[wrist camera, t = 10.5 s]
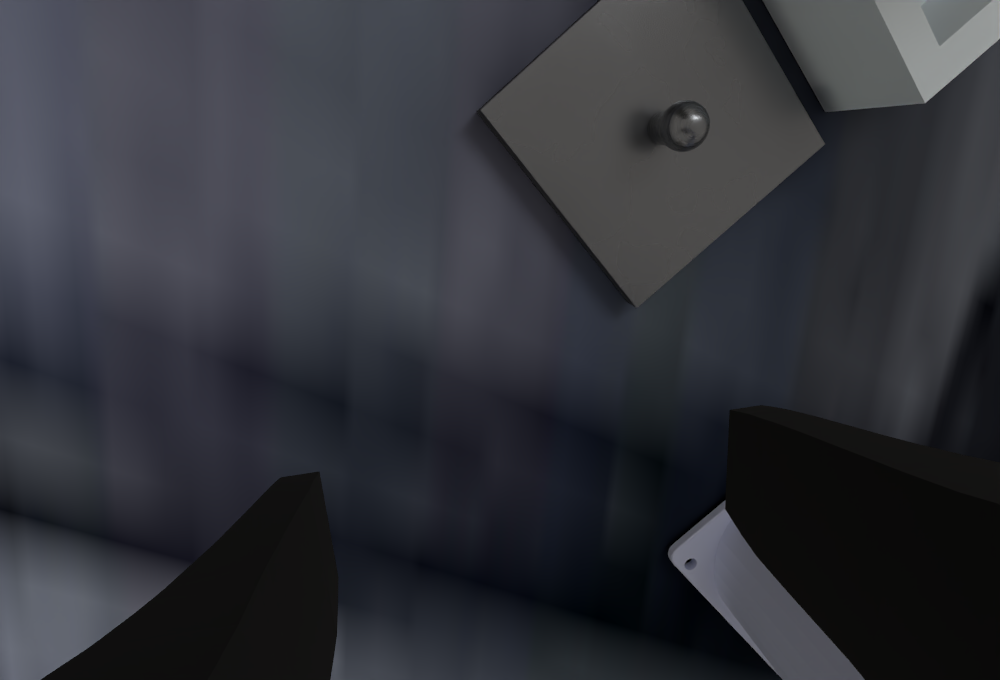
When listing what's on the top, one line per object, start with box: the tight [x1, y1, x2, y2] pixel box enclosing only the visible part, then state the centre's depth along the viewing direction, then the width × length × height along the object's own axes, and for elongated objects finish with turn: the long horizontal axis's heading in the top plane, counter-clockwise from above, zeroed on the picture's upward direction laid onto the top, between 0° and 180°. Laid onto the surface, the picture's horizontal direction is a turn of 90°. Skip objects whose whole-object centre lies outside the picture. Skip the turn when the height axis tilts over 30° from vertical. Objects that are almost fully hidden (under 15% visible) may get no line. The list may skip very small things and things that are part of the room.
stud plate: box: [477, 0, 825, 308], centre depth 18 cm, size 8×8×3 cm
